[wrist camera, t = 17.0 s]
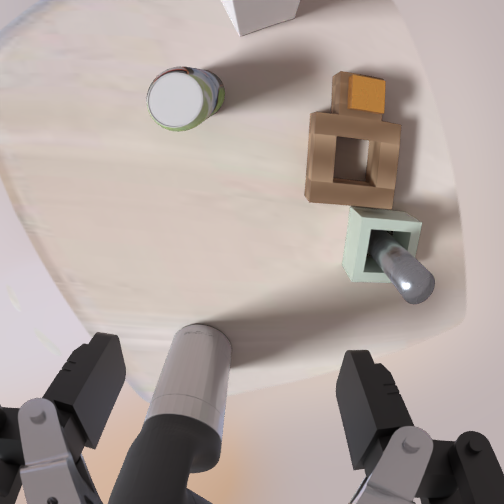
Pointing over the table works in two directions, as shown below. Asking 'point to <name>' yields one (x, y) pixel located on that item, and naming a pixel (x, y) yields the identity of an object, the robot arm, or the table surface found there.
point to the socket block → (359, 127)
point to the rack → (359, 235)
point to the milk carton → (259, 13)
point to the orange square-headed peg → (366, 94)
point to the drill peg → (401, 267)
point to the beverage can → (184, 97)
